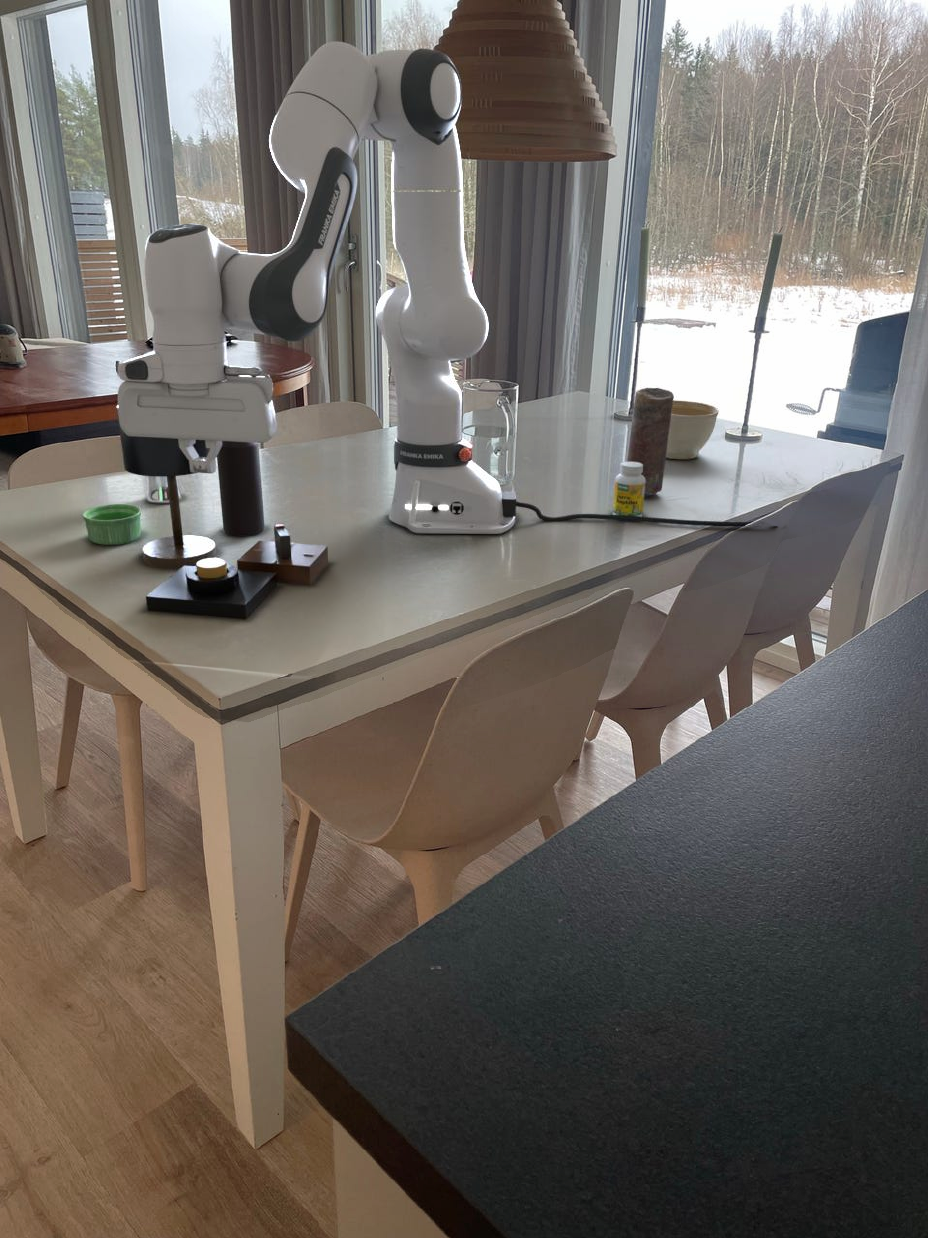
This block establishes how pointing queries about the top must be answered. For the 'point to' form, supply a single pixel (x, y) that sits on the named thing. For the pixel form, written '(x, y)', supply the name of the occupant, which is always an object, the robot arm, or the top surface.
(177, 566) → the table lamp
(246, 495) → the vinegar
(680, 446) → the planter bowl
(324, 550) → the block
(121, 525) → the ramekin
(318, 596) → the top surface
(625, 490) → the supplement bottle
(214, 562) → the lamp button
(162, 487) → the beer glass
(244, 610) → the switch block
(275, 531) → the dimmer knob
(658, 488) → the candle
